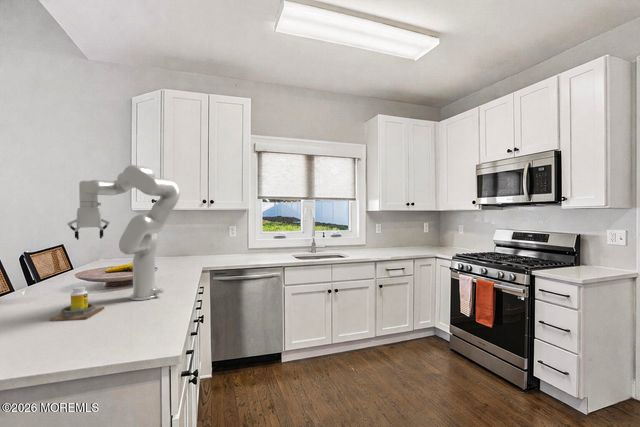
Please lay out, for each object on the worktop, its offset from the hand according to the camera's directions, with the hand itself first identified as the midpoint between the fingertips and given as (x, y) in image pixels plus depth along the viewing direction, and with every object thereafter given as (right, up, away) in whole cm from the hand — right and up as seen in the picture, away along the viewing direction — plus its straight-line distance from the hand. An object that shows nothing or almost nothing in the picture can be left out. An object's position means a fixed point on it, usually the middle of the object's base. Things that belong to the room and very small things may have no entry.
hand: (89, 238), depth 164 cm
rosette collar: (+18, -29, -32) cm, 46 cm away
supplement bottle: (+18, -28, -31) cm, 46 cm away
